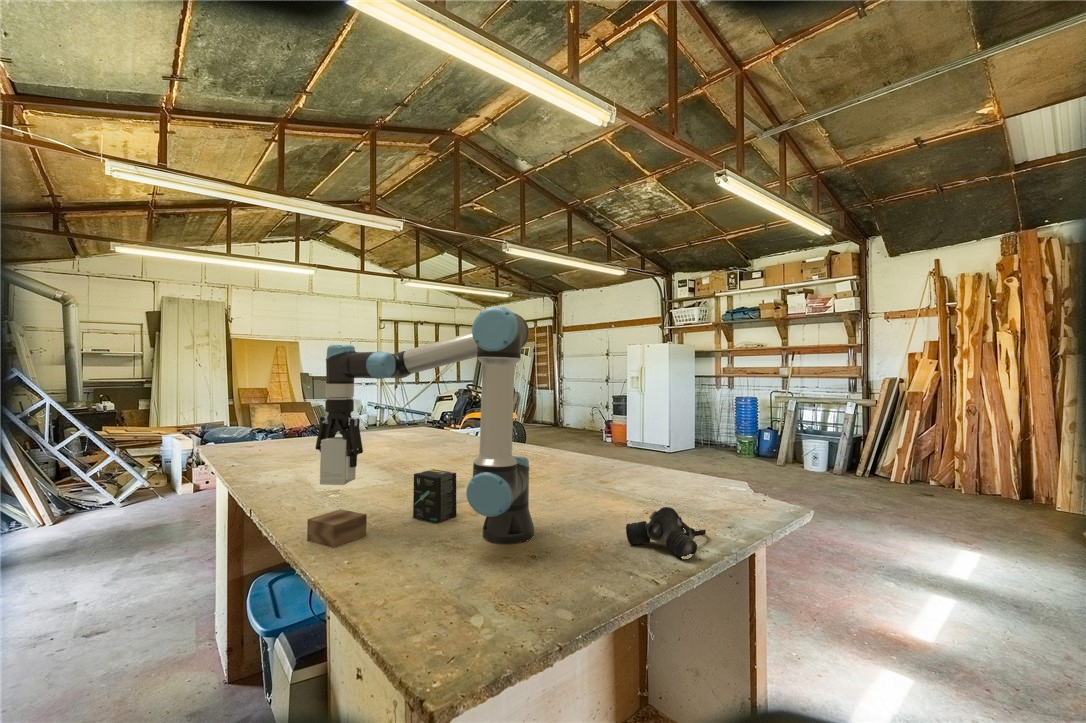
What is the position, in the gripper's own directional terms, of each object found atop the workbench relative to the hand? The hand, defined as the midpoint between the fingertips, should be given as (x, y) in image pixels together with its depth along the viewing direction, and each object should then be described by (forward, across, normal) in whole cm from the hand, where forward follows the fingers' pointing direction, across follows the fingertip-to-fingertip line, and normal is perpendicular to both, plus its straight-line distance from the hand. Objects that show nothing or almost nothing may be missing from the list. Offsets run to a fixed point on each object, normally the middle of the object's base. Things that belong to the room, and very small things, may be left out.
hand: (338, 476), depth 133 cm
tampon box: (+18, -12, -28) cm, 35 cm away
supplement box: (+2, 0, 0) cm, 2 cm away
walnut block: (+17, 0, 0) cm, 17 cm away
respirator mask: (+18, -86, -42) cm, 98 cm away
